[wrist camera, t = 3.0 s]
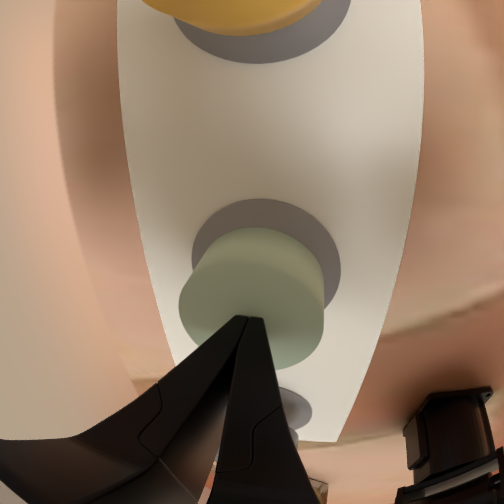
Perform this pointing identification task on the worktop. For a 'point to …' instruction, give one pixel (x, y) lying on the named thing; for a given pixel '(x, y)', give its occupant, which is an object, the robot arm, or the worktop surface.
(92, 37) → the worktop surface
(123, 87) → the button panel
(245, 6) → the button amber
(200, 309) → the button sage
